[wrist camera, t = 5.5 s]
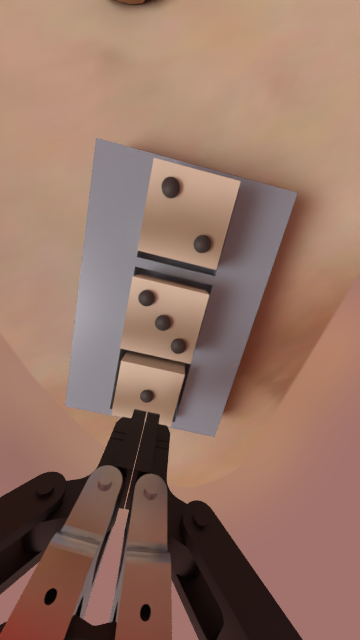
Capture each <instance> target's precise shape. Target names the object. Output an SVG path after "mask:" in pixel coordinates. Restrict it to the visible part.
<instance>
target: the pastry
mask: <svg viewBox="0 0 360 640" xmlns="http://www.w3.org/2000/svg"><path fill="white" fill-rule="evenodd" d="M117 1H120V2H122V3H126V4H142V3H143V2H144V1H145V0H117Z"/></svg>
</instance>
